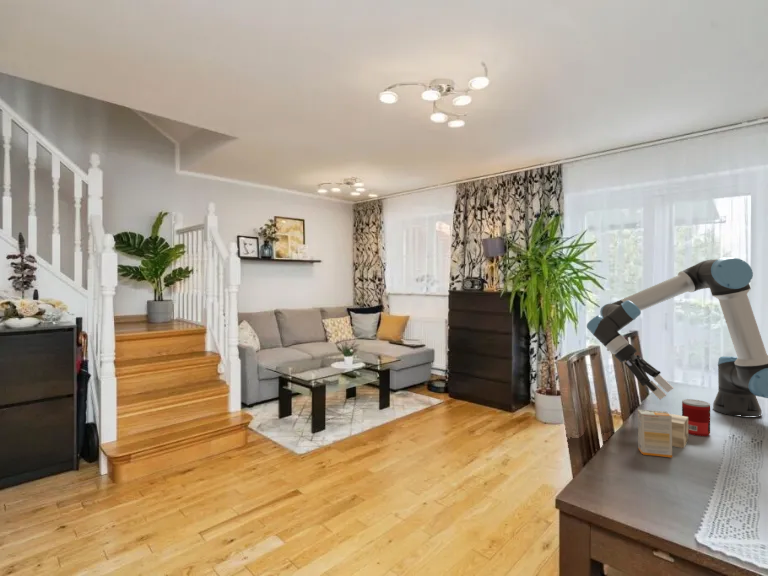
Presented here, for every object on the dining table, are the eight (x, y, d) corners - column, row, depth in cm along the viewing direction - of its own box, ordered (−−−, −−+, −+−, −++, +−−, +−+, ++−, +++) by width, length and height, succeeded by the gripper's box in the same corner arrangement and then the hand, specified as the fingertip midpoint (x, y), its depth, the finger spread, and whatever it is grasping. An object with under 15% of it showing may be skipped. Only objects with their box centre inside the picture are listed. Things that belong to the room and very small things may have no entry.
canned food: (715, 437, 141) (715, 405, 141) (689, 435, 142) (689, 404, 142) (702, 429, 148) (702, 399, 148) (678, 428, 150) (677, 398, 150)
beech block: (653, 433, 146) (653, 410, 146) (688, 440, 139) (688, 416, 139) (647, 440, 138) (647, 417, 138) (683, 448, 132) (683, 424, 131)
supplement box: (667, 452, 129) (667, 411, 129) (672, 458, 124) (672, 415, 124) (637, 449, 131) (637, 408, 131) (641, 454, 127) (641, 413, 127)
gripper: (622, 351, 172) (665, 393, 162) (604, 359, 154) (651, 406, 144) (637, 339, 168) (681, 381, 158) (620, 346, 150) (669, 394, 140)
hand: (667, 393), depth 151 cm, fingers open, 13 cm apart
